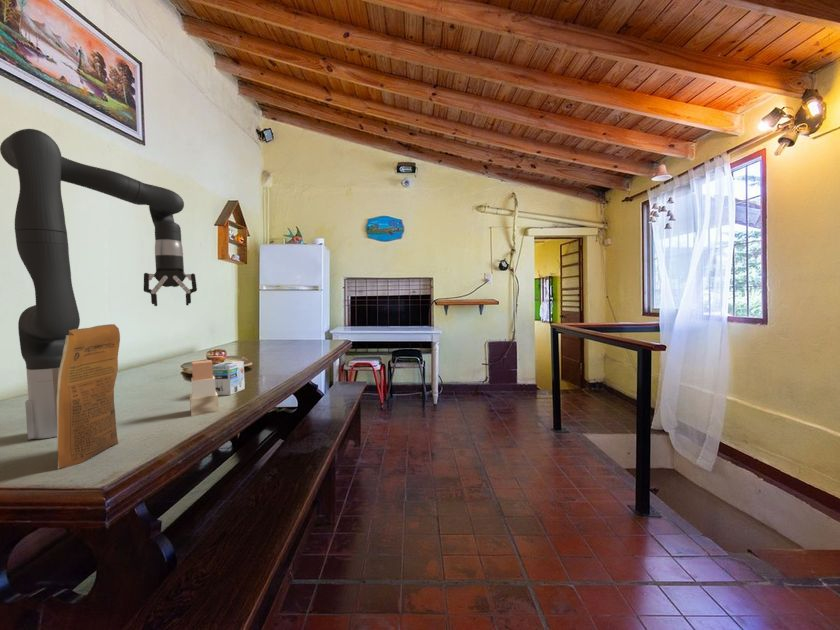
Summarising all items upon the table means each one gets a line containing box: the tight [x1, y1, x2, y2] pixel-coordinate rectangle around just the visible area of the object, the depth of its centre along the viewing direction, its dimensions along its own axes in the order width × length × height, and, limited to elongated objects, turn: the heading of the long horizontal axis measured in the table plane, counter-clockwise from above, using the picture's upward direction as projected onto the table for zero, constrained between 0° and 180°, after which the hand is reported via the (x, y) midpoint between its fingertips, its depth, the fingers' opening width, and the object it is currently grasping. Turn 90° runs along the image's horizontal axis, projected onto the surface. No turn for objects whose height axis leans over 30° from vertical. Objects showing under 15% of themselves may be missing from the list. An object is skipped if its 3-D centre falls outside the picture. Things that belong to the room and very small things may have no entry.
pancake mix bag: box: [56, 323, 121, 470], centre depth 82 cm, size 7×19×28 cm, turn 7°
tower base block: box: [189, 392, 220, 417], centre depth 114 cm, size 7×7×5 cm
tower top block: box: [190, 376, 216, 398], centre depth 113 cm, size 6×6×5 cm
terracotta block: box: [191, 359, 213, 381], centre depth 113 cm, size 5×5×5 cm
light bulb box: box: [212, 360, 246, 396], centre depth 138 cm, size 11×7×11 cm, turn 179°
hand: (172, 305), depth 121 cm, fingers open, 8 cm apart
